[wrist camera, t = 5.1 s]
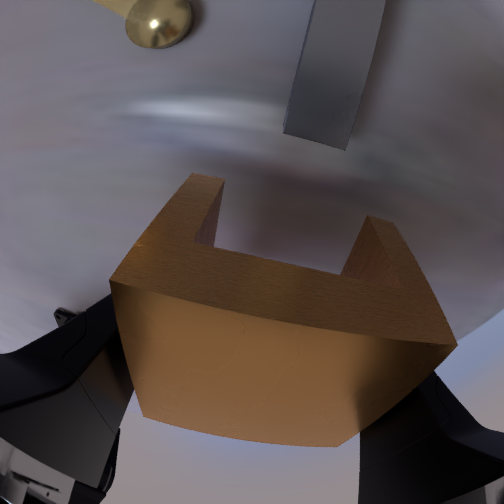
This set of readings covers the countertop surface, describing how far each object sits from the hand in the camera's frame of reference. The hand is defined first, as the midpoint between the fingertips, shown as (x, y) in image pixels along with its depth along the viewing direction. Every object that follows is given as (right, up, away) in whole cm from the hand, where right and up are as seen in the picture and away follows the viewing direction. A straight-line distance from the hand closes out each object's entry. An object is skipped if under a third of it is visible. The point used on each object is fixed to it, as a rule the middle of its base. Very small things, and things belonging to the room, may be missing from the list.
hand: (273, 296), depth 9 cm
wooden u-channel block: (0, +1, +1) cm, 1 cm away
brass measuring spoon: (-6, +12, -2) cm, 14 cm away
